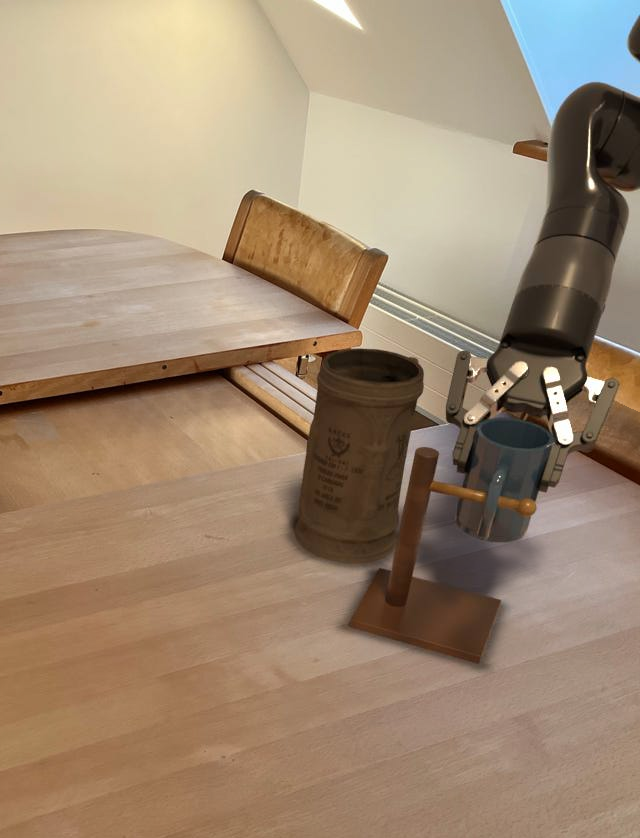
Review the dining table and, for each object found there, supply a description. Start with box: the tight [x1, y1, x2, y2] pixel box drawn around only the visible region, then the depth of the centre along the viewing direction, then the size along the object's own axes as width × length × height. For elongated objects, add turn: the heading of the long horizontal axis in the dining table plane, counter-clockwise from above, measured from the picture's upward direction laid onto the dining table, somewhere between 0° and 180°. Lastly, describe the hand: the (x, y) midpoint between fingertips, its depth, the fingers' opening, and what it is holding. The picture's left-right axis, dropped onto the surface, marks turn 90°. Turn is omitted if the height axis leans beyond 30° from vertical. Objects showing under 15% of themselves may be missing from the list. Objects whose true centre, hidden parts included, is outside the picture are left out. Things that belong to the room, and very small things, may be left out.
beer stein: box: [293, 347, 425, 565], centre depth 99 cm, size 15×11×20 cm
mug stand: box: [348, 446, 537, 665], centre depth 87 cm, size 13×10×17 cm
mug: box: [454, 417, 554, 543], centre depth 85 cm, size 10×6×9 cm, turn 154°
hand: (501, 479), depth 84 cm, fingers closed on mug, 6 cm apart
